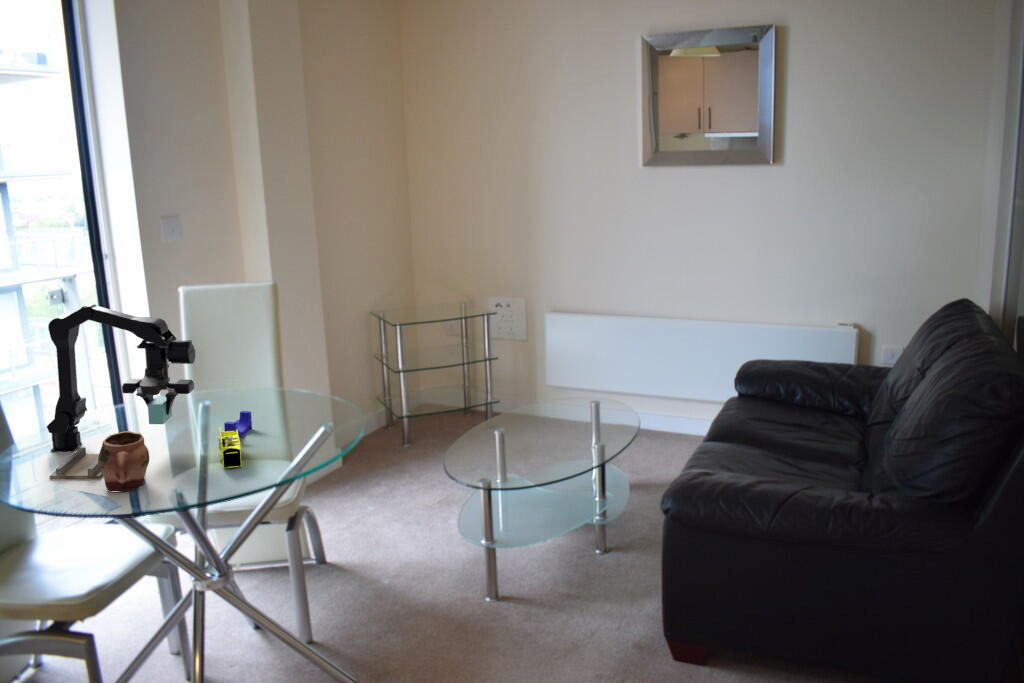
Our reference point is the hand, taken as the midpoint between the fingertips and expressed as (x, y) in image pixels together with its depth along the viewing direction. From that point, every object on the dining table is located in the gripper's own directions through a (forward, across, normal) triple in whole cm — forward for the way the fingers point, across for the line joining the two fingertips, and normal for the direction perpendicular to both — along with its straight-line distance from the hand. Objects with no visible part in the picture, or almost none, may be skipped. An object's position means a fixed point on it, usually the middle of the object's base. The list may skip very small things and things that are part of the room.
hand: (160, 414), depth 253 cm
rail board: (+11, -16, -14) cm, 24 cm away
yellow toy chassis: (+11, +22, -8) cm, 25 cm away
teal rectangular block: (+2, 0, 0) cm, 2 cm away
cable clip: (+11, +18, +13) cm, 25 cm away
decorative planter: (+11, 0, -28) cm, 30 cm away
